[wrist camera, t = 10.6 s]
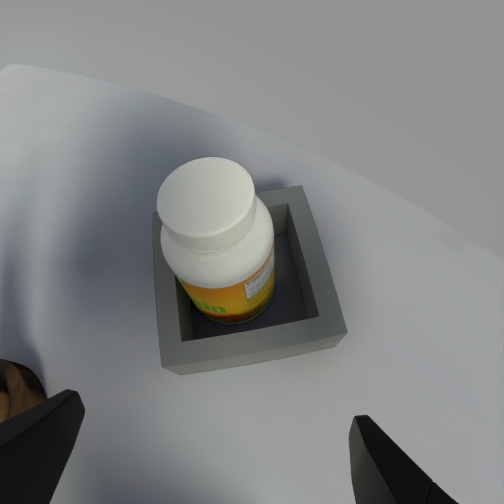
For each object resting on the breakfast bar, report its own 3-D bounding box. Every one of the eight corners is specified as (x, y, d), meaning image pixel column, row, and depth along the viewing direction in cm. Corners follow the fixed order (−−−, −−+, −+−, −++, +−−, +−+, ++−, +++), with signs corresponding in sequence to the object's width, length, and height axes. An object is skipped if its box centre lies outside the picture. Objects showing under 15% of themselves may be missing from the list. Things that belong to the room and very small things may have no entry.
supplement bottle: (176, 296, 21) (114, 211, 12) (225, 236, 23) (197, 131, 14) (242, 343, 19) (213, 280, 11) (290, 275, 21) (298, 175, 13)
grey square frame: (180, 375, 19) (161, 366, 15) (167, 240, 23) (152, 213, 20) (335, 346, 19) (347, 332, 16) (298, 215, 23) (302, 185, 20)
